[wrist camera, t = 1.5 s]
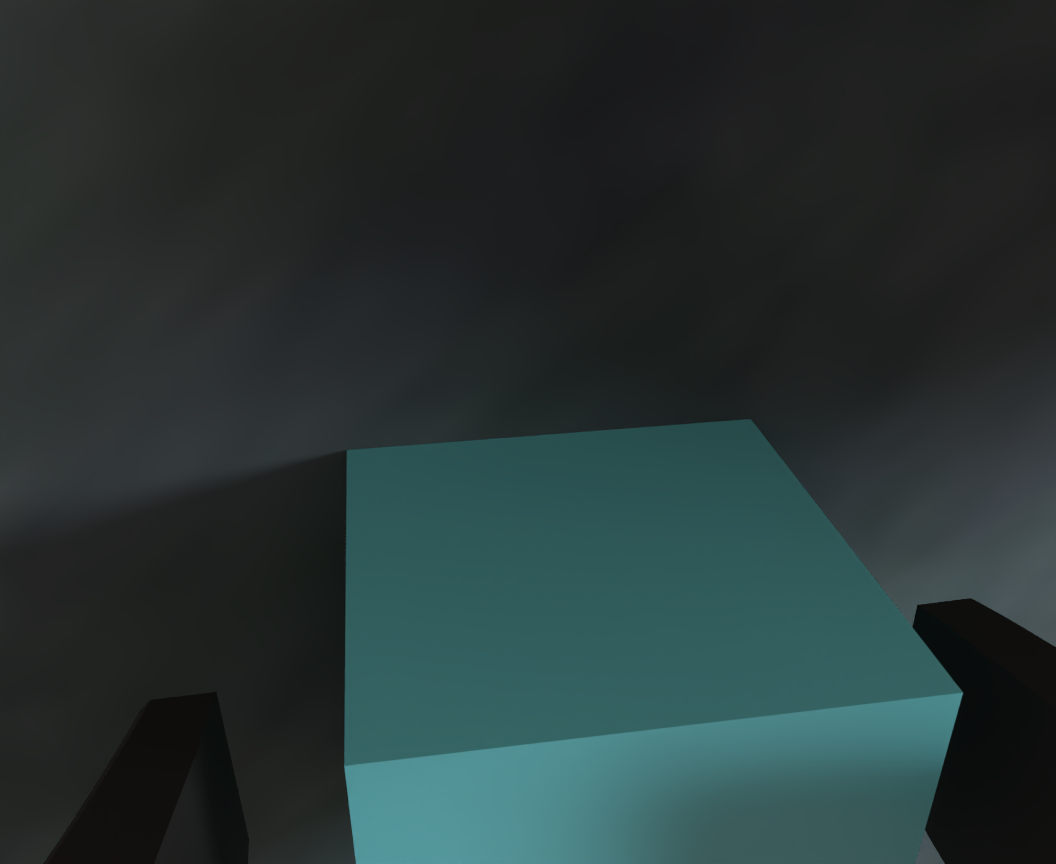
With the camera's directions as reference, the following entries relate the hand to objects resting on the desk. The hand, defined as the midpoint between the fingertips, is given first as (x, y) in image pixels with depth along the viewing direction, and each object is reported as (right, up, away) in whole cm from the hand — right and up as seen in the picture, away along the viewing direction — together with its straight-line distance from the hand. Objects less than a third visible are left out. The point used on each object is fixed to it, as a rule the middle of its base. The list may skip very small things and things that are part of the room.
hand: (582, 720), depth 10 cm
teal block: (0, +1, +2) cm, 2 cm away
